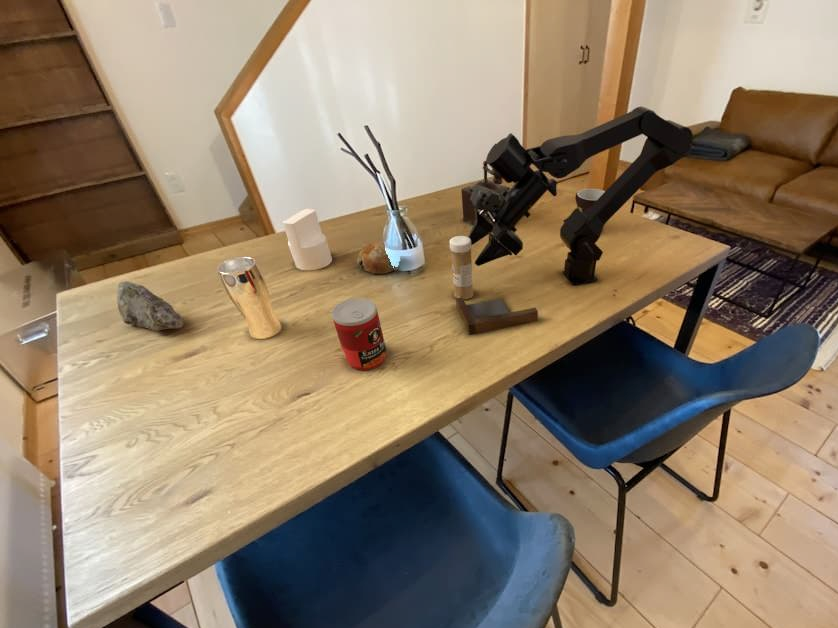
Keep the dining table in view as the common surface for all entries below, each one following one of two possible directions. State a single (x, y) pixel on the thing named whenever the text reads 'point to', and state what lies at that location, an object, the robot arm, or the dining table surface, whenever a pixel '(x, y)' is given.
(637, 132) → the robot arm
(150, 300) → the mineral rock
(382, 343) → the canned food
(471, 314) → the corner guide
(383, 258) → the bread roll
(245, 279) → the beer glass
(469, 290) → the sprinkles bottle
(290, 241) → the base with upright slab
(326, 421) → the dining table surface
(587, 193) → the coffee mug
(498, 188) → the brown coffee grinder
